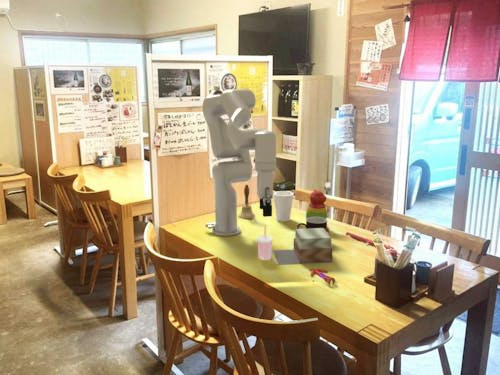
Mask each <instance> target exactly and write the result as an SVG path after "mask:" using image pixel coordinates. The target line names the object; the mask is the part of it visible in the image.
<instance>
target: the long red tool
mask: <svg viewBox="0 0 500 375" xmlns="http://www.w3.org/2000/svg"><path fill="white" fill-rule="evenodd" d="M345 233H346V234H345V235H346V236H349V237H350V238H352V239H354V240H358V241H360V242H363V243H365V246H369V245H370V246H372V247H375V245H374V243H373V241H374V240H373V239H370V238H365V237H363V236H360V235H357V234H354V233H352V232H348V231H346V232H345ZM383 244H384V247H385V248H386V249H394V250H395V248H394V247H393V246H391V245H390V244H388V245H387V244H385V243H383Z"/></svg>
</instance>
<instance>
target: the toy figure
mask: <svg viewBox="0 0 500 375" xmlns="http://www.w3.org/2000/svg"><path fill="white" fill-rule="evenodd" d="M308 270H309V271H310V277H311V278H313V276H314V274H315V275H316V276H318V277H319V278H322V279H323V280H327V284H328V286H331V282H332V285H335V283H336V279H335V278H334V277H333V276H329V275H327V274H328V273H329V271H328V270H326V269H324V268H316V269H315V268H314V267H313V268H312V267H310V268H309V269H308ZM323 272H325V273H327V274H324V273H323ZM312 282H313V283H314V282H315V280H312Z"/></svg>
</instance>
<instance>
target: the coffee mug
mask: <svg viewBox="0 0 500 375" xmlns="http://www.w3.org/2000/svg"><path fill="white" fill-rule="evenodd" d="M305 222H306V223H303V222H302V223H299V224H297V227H296V229H300V226H301V225H303V226H305V229H306V228H307V229H308V228H324V229H325V230H326V225H327V226H328V219H325V218H322V217H309V218H307V219H306V218H305Z"/></svg>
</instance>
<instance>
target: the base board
mask: <svg viewBox="0 0 500 375" xmlns="http://www.w3.org/2000/svg"><path fill="white" fill-rule="evenodd" d="M272 252H273V255H274V258H275V260H276V263H277V265H278V266H279V265H280V266H282V265H307V264H309V265H310V264H330V263H331V264H332V263H334V262H333V260H332V261H329V262H304V263H300V262H299V260H298V258H297V256H296V254H295V252H294V248H293V249H276V250H275V249H272Z"/></svg>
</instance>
